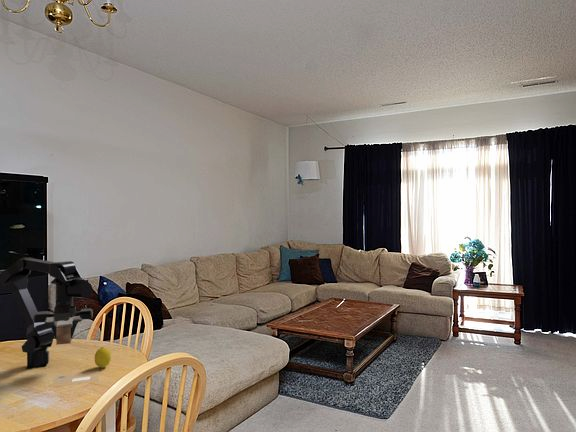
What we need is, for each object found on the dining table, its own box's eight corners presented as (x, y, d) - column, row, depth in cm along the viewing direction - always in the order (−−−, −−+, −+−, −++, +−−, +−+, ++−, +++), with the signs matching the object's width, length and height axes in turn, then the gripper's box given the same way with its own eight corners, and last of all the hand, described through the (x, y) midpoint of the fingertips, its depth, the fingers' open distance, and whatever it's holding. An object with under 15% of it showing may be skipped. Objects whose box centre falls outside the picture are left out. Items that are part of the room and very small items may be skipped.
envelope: (51, 387, 141) (51, 386, 141) (55, 377, 150) (55, 376, 150) (98, 381, 146) (98, 380, 146) (99, 371, 155) (99, 370, 155)
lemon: (104, 371, 155) (104, 349, 155) (91, 370, 156) (91, 348, 156) (114, 366, 161) (113, 344, 161) (100, 365, 162) (100, 344, 162)
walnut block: (56, 344, 154) (56, 328, 154) (58, 341, 159) (58, 324, 159) (70, 343, 156) (70, 326, 156) (71, 339, 160) (71, 323, 160)
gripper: (30, 302, 146) (30, 348, 146) (90, 298, 153) (90, 342, 153) (36, 296, 157) (36, 338, 157) (92, 293, 163) (92, 334, 163)
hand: (64, 338), depth 157 cm, fingers closed on walnut block, 4 cm apart
